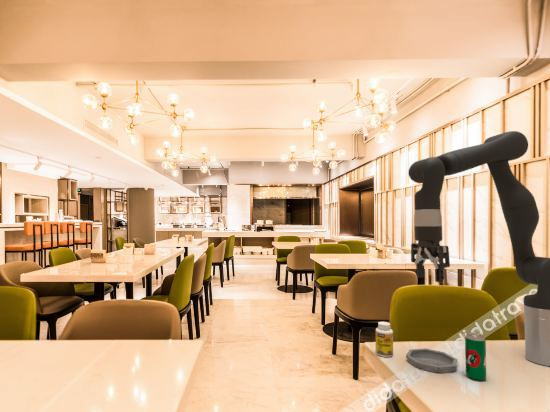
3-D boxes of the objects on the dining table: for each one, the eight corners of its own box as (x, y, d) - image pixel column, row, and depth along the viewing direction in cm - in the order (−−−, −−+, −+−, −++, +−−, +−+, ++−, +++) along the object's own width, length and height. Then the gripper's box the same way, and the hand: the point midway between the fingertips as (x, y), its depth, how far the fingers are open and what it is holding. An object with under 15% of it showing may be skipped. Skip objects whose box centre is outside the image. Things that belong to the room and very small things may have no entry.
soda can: (489, 382, 90) (488, 338, 91) (469, 380, 91) (468, 336, 92) (482, 374, 95) (481, 332, 96) (463, 372, 96) (462, 331, 97)
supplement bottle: (375, 356, 108) (374, 324, 108) (376, 350, 113) (376, 320, 114) (393, 358, 106) (392, 326, 106) (393, 352, 111) (393, 322, 112)
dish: (435, 353, 111) (435, 347, 111) (468, 371, 97) (467, 364, 98) (398, 355, 108) (398, 350, 108) (426, 374, 95) (426, 368, 95)
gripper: (456, 224, 92) (458, 283, 91) (423, 224, 106) (425, 275, 105) (432, 225, 91) (434, 284, 90) (402, 225, 105) (404, 276, 104)
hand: (429, 279), depth 97 cm, fingers open, 8 cm apart
